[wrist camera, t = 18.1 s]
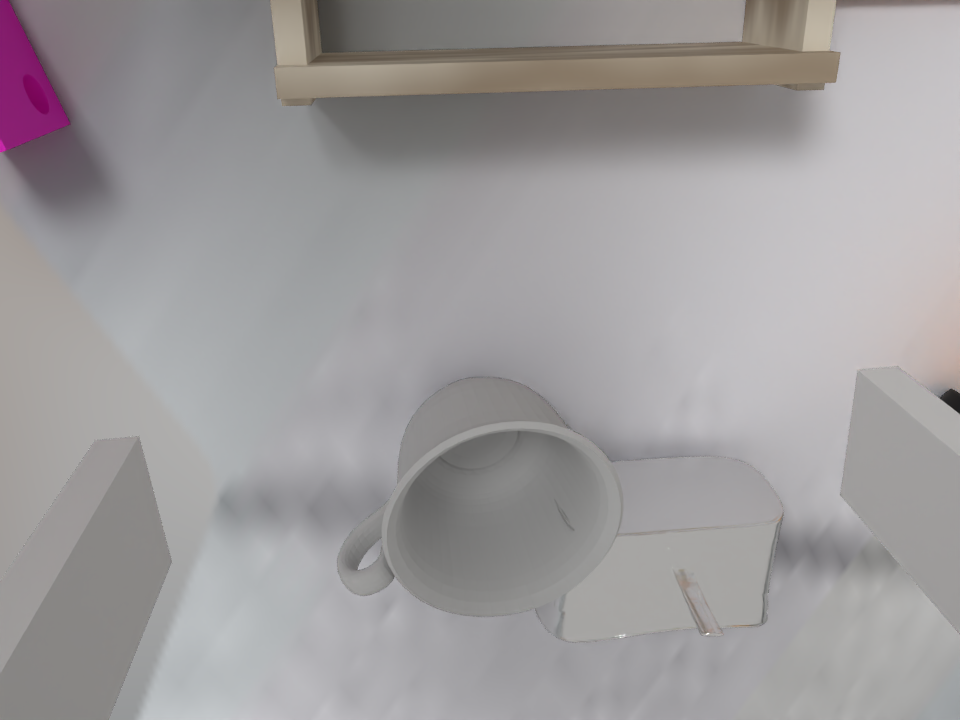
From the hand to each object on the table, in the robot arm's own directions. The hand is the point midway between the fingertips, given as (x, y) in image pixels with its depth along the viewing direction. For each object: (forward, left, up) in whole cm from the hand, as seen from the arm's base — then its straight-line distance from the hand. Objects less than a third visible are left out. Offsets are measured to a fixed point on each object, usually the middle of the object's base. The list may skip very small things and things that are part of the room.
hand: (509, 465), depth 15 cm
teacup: (+16, 0, -30) cm, 34 cm away
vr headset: (+22, +12, -30) cm, 39 cm away
